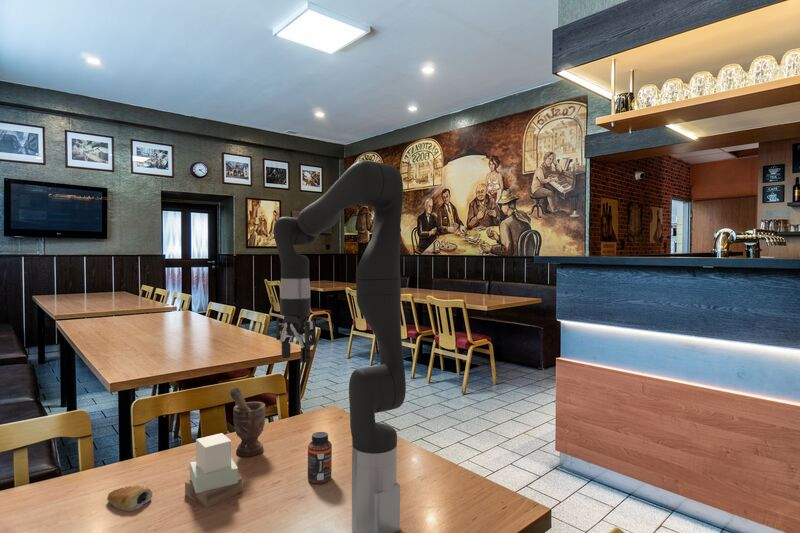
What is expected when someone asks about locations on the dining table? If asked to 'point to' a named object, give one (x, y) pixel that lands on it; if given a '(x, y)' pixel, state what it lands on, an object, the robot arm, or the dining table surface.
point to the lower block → (212, 493)
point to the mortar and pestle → (248, 423)
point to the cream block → (213, 452)
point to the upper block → (213, 477)
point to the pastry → (130, 497)
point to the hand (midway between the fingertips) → (295, 360)
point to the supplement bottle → (319, 458)
